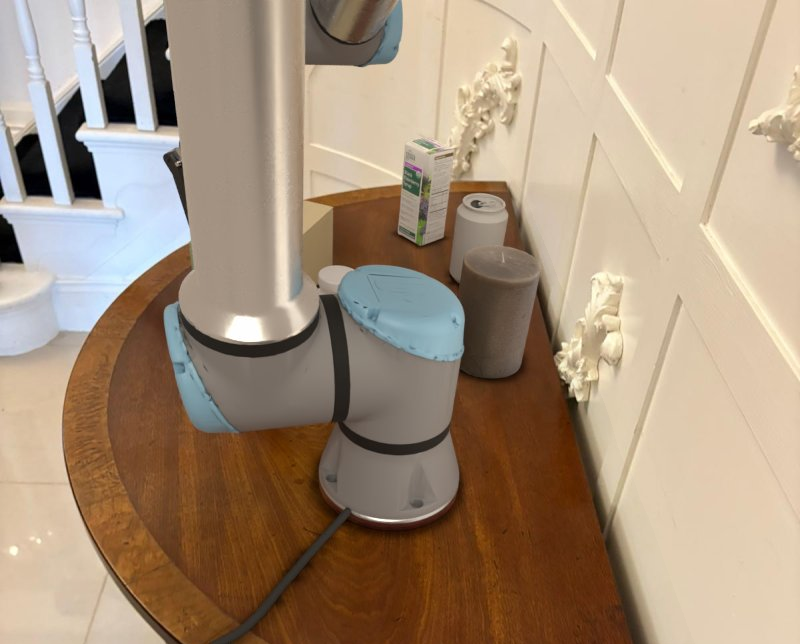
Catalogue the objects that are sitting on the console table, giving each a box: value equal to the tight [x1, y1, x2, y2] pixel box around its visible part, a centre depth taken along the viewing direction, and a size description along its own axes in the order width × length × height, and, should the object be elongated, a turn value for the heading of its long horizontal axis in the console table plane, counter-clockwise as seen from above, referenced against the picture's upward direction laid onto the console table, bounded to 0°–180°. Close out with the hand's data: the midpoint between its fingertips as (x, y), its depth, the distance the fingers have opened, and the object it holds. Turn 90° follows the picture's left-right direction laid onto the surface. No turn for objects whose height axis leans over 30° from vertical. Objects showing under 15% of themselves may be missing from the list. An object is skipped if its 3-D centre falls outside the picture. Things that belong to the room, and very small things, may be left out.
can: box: [449, 192, 509, 284], centre depth 117 cm, size 8×8×12 cm
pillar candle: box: [457, 245, 543, 379], centre depth 100 cm, size 10×10×15 cm
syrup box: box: [397, 136, 456, 247], centre depth 125 cm, size 6×6×14 cm
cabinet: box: [302, 199, 334, 286], centre depth 113 cm, size 15×14×10 cm
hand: (226, 290), depth 105 cm, fingers closed
